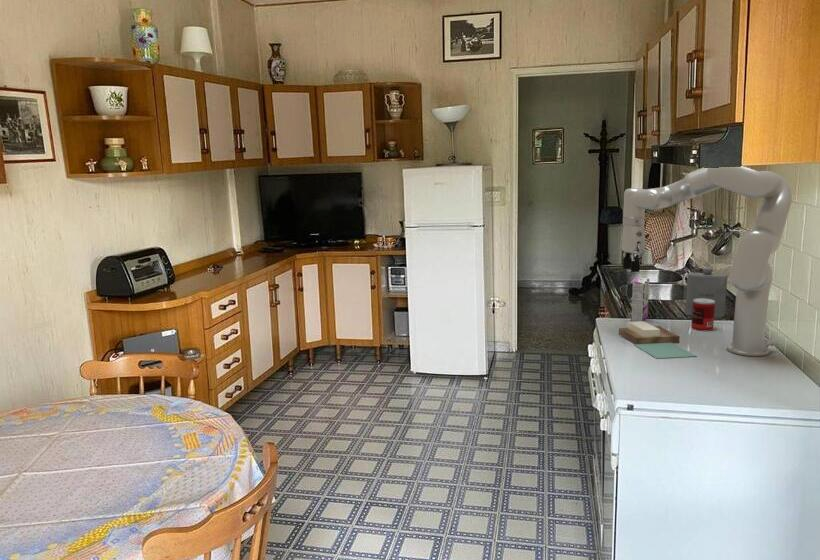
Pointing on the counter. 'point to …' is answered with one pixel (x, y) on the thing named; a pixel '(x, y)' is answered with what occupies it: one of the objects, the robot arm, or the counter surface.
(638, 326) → the tile
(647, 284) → the candy bar box
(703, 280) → the grey upright rectangular block
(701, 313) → the canned food
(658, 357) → the mat
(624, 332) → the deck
